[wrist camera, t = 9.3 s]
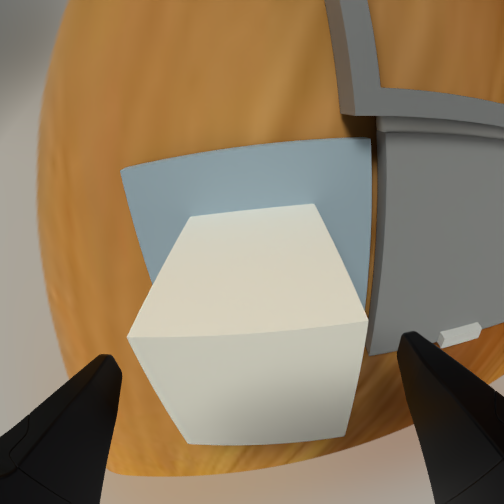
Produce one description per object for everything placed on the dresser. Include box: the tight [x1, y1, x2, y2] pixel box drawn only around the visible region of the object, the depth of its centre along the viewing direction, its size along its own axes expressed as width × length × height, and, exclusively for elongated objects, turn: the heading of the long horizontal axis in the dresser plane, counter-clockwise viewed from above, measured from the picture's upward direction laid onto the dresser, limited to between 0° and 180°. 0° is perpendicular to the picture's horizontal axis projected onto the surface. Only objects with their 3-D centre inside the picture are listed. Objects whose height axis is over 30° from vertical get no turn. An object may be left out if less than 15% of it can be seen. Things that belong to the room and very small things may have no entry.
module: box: [127, 204, 369, 445], centre depth 10 cm, size 5×5×7 cm
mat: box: [120, 137, 372, 311], centre depth 13 cm, size 10×10×1 cm
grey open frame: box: [325, 0, 504, 356], centre depth 8 cm, size 15×27×2 cm, turn 7°
